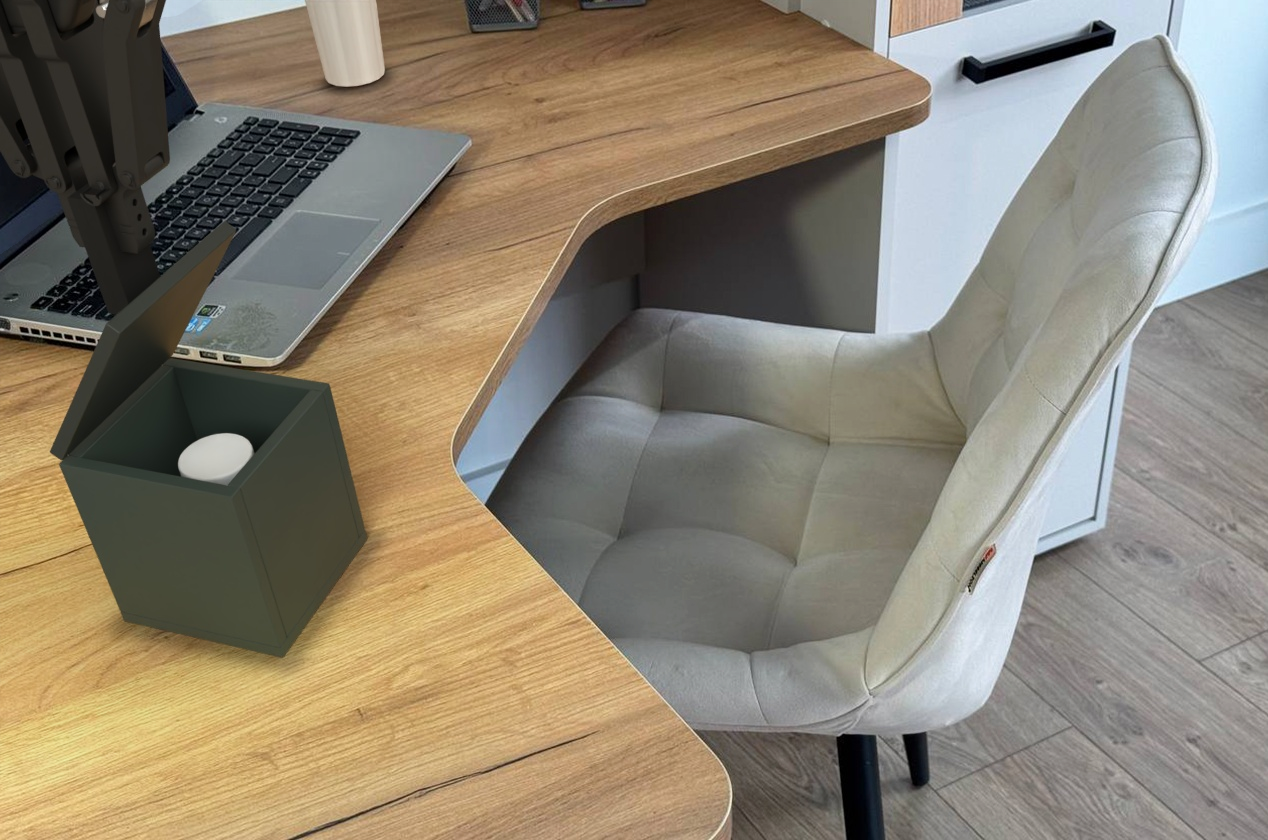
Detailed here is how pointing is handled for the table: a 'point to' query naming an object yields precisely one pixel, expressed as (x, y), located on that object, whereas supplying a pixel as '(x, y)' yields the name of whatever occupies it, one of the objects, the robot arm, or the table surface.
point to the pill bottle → (215, 458)
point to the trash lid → (140, 339)
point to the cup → (347, 40)
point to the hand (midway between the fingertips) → (136, 300)
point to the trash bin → (220, 505)
